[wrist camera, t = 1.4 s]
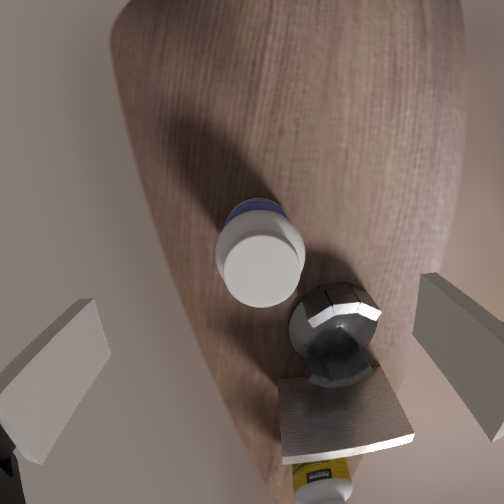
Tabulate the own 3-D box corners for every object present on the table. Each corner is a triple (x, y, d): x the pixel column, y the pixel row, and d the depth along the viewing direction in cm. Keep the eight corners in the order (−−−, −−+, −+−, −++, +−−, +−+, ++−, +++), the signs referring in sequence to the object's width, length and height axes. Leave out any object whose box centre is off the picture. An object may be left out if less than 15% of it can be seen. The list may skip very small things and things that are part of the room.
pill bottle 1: (211, 228, 25) (184, 269, 16) (261, 182, 24) (263, 196, 14) (257, 274, 26) (256, 337, 17) (306, 232, 25) (334, 276, 16)
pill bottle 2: (336, 421, 31) (356, 500, 20) (344, 448, 33) (360, 518, 22) (283, 435, 32) (289, 516, 21) (296, 460, 34) (303, 532, 23)
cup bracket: (271, 288, 26) (278, 358, 17) (392, 277, 26) (446, 333, 16) (277, 387, 30) (282, 464, 20) (379, 374, 29) (411, 441, 20)
